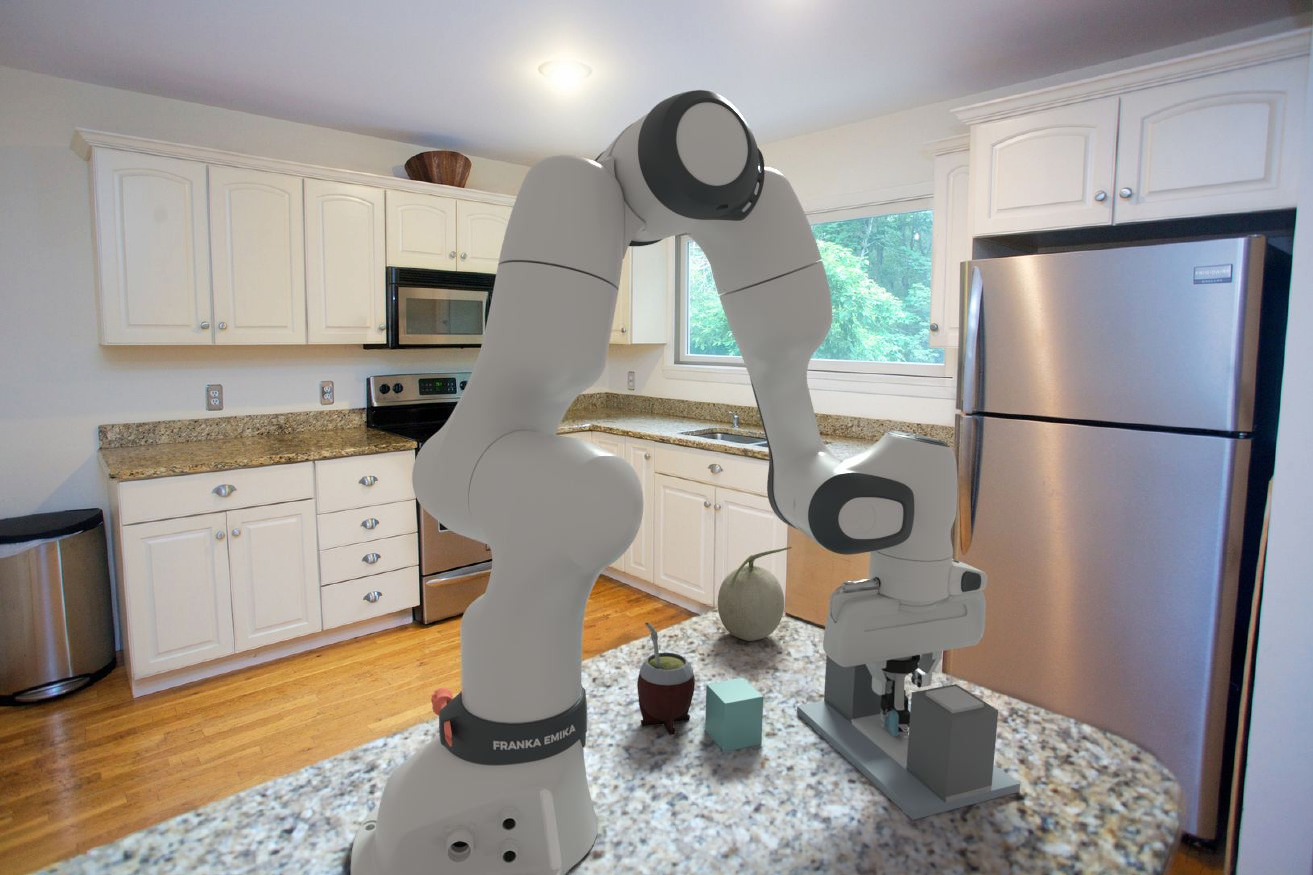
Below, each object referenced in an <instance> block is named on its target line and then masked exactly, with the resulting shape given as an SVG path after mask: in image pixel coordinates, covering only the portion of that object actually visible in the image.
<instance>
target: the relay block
mask: <svg viewBox="0 0 1313 875" xmlns="http://www.w3.org/2000/svg"><path fill="white" fill-rule="evenodd" d="M705 686H706V688H705V690H706V692H705V693H706V694H705V719H704V720H705V721H704V722H705V723H704V731H705V732H706V733H707V734H708V735H709V736H710V738H711V739H712V740H713V741H714V742H715V743H716V745H717V746H718V747H719V748H720V749H721V751H722V752H728V751H729V752H730V751H734V750H738V749H744V748H747V747H753V746H757V745H761V744H762V741H763V740H762V739H763V737H762V736H763V735H762V734H763V716H764V714H763V712H764V695H762V694H761V693H760V692H759V691H758V690H757V689H756V688H755V687H754V686H753V685H752V684H751V683H750V682H749V681H747V680H746V678H743V677H739V678H734V679H728V680H722V681H717V682H716V681H715V682H710V683H706V685H705Z"/></svg>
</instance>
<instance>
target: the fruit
mask: <svg viewBox="0 0 1313 875" xmlns="http://www.w3.org/2000/svg"><path fill="white" fill-rule="evenodd" d="M790 549H792V546H787V547H784V548H779V549H773V550H769V551H764V552H759V553H755V554H753V555H749V556H748V557H747V558H746V559H745V560H744V561H743V562H742V563H741V565H740V566H739V567H738V568H736V569H735V570H733V571H731V572H730V573H729V574H728V575H726V576H725V577H724V579H723V581H722V583H721V585H720V588H719V590H718V595H717V611H718V616H719V618H720V621H721V624H722V626H724V629H725V630H726V631H727V632H728V633H729V634H730V635H732V636H734V637H736V638H738V639H741V640H743V641H747V642H748V641H749V642H752V641H759V640H762V639H765V638H767V637H768V636H770V635H771V634H773V633H774V632H775V631H776V629H777V628H778V627H779V625H780V623H781V621H782V618H783V615H784V611H785V596H784V591H783V587H782V585H781V583H780V581H779V580H778V578H777V577H776V576H775V575H774V574H773V573H772V572H770V571H769V570H767V569H766V568H763V567H760V566H756V565H754V562H755V561H756V559H759V558H762V557H764V556H767V555H772V554H776V553H780V552H783V551H786V550H790ZM747 564H748V565H747Z"/></svg>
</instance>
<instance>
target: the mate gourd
mask: <svg viewBox="0 0 1313 875" xmlns="http://www.w3.org/2000/svg"><path fill="white" fill-rule="evenodd" d="M644 625H645V626H646V627H647V628H648V629H649V631H650V638H651V641H652V646H653V651H654V654H651V655H649V656H648V657H647V658H646V659H645V660H644V661H643V662H642V664H641V666H640V668H639V673H638V677H637V682H636V683H637V687H636V688H637V695H638V706H639V711H640V713H641V717H642V719H641V720H640V725H641V727H650V726H657V725H658V726H659V725H661V726H662V725H663V726H664V728H665V730H666V733H667V734H668V736H675V735H676V729H675V727H674V725H675V723H680V722H688V721H690V718H691V715H690V714H689V711H690V708H691V705H692V701H693V697H694V693H695V686H696V679H695V675H694V669H693V666H692V665H691V664H690V662H689V661H688V659H687V658H686V657H685V656H683V655H681V654H678V653H674V652H664V651H663V652H659V645H658V640H659V638H658V637H659V636H658V631H656V629H655V626H653V625H652V624H650V622H645V623H644Z"/></svg>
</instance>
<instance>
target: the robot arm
mask: <svg viewBox="0 0 1313 875" xmlns="http://www.w3.org/2000/svg"><path fill="white" fill-rule="evenodd" d="M508 219H509V220H508V221H507V222H508V223H507V225H506V228H505V232H504V236H503V241H502V244H501V250H500V253H499V258H498V264H497V269H496V274H495V280H494V285H493V289H492V290H493V291H492V296H491V300H490V306H489V310H488V311H489V312H488V315H487V321H486V326H485V331H484V334H483V339H482V343H481V347H480V351H479V353H478V355H477V356H478V357H477V359H476V362H475V364H474V367H473V370H472V372H471V374H470V376H469V379H468V381H467V383H466V385H465V387H464V390H463V391H462V393H461V395H460V397H459V400H458V401H457V404H456V405H455V407H454V409H453V410H452V413H451V414H450V416H449V417H448V419H447V421H446V422H445V423H444V424H443V426H442V427H441V428H440V429H439V430H438V431H437V432H435V433H434V434H433V435H432V436H431V437H429V439H427V440H426V442H425V443H423V445H422V446H421V448H420V449H419V451H418V453H417V455H416V456H415V460H414V464H413V467H412V474H411V475H412V478H411V481H412V482H411V483H412V489H413V491H414V492H413V493H414V496H415V497H416V499H417V502H418V503H419V505H420V506H421V508H423V509H424V511H426V512H427V513H428V514H429V515H430V516H431V517H432V518H434V519H435V521H437V522H438V523H440V524H441V525H442V526H443V527H445V528H446V529H447V530H449V531H451V532H452V533H455V534H456V535H459V536H461V537H465V538H468V539H471V540H474V541H477V542H479V543H482V544H485V545H488V546H489V548H490V549H489V550H490V552H491V557H492V560H491V561H492V562H491V571H490V575H489V580H488V583H487V586H486V589H485V593H483V594H481V595H480V596H478V597H477V598H476V599H475V600H473V601H472V602H471V603H470V604H469V605H468V607H466V609H465V611H464V612H463V615H462V617H461V620H460V626H459V630H460V673H461V674H460V676H461V677H460V678H461V680H460V681H461V682H460V683H461V690H460V691H459V692H458V694H457V695H456V696H454V695H453V691H451V690H450V689H449V688H448V687H440V688H437V689H436V690H434V693H432V695H431V699H430V700H431V705H432V712H433V713H434V714H436V715H437V716H438V733H439V734H438V735H436V736H435V737H434V738H433V739H431V740H430V741H429V742H428V743H426V744H425V745H424V746H423V747H421V748H420V749H419V750H417V752H415V753H414V754H412V755H411V756H410V757H408V759H406V760H405V761H403V762H402V763H400V764H399V765H398V766H397V767H396V768H394V770H393V771H392V772H391V773H390V776H389V777H388V779H387V782H386V784H385V786H384V789H383V792H382V795H381V798H380V802H379V806H378V807H376V808H374V809H373V810H372V811H370V812H369V814H368V815H367V816H366V817H365V818H364V820H363V821H362V822H361V824H360V826H359V827H358V829H357V832H356V833H355V837H354V839H353V844H352V850H351V857H350V858H351V859H350V868H349V870H350V871H349V872H350V874H349V875H566V874H567V873H568V872H569V870H571V869H572V868H573V867H574V866H575V865H577V864H578V863H579V862H580V861H581V860H582V859H583V858H584V857H585V856H586V855H587V854H588V853H589V851H590V850H591V849H592V847H593V845H594V843H595V841H596V838H597V834H598V832H599V831H598V830H599V820H598V817H597V813H596V811H595V807H594V804H593V801H592V797H591V793H590V789H589V782H588V777H587V770H586V763H585V762H586V761H585V752H584V751H585V750H584V748H585V746H586V744H587V742H586V741H587V733H588V700H587V693H586V689H585V687H583V684H582V677H583V676H582V670H583V669H582V668H583V664H582V663H583V638H584V637H583V636H584V635H583V634H584V621H585V615H586V610H587V605H588V602H589V598H590V596H591V593H592V590H593V587H594V586H595V584H596V582H597V580H598V578H599V576H600V575H601V574H602V572H604V570H605V569H607V568H608V567H610V566H611V565H612V564H613V563H615V562H617V561H618V560H619V559H620V558H621V557H622V556H623V555H624V554H625V553H626V552H627V550H629V548H630V547H631V545H632V544H633V543H634V541H635V539H636V538H637V535H638V532H639V530H640V527H641V524H642V520H643V517H644V516H643V514H644V508H645V507H644V492H643V488H642V482H641V480H640V477H639V476H638V474H637V472H636V470H635V468H634V467H633V466H632V465H631V463H629V462H628V461H627V459H624V458H623V457H621V456H619V455H618V454H615V453H613V452H611V451H609V450H607V449H605V448H604V447H601V446H599V445H597V444H594V443H592V442H591V441H588V440H586V439H582V438H577V437H570V436H564V435H559V434H557V433H558V430H559V427H560V425H561V423H562V422H563V419H564V416H565V415H566V414H567V411H568V410H569V408H570V407H571V406H572V404H573V403H574V401H575V400H576V399H577V398H578V397H579V396H580V395H581V394H582V393H584V392H585V391H586V390H588V389H589V388H591V387H592V386H594V384H595V383H597V381H598V380H599V379H600V377H601V376H602V374H603V372H604V370H605V367H606V363H607V360H608V359H607V358H608V354H609V346H610V343H611V342H610V340H611V336H612V331H613V330H612V329H613V325H614V324H613V323H614V320H615V319H614V318H615V312H616V307H617V301H618V295H619V289H620V285H621V284H620V283H621V277H622V269H623V261H624V258H625V256H626V254H627V250H628V249H629V247H645V246H651V245H654V244H658V243H659V242H661V241H662V240H665V239H667V238H671V237H674V236H680V235H682V234H687V236H688V237H689V238H690V239H692V240H693V241H694V242H695V243H696V245H698V246H699V248H700V250H701V251H702V253H703V254H704V256H705V257H706V260H708V263H709V266H710V269H711V273H712V276H713V281H714V285H715V287H716V291H717V294H718V297H719V300H720V301H719V302H720V303H721V307H722V309H723V312H724V315H725V317H726V321H727V322H728V323H727V324H728V326H729V329H730V330H731V333H732V335H733V338H734V341H735V343H736V345H737V347H738V350H739V352H740V354H741V357H742V360H743V363H744V365H745V368H746V370H747V372H748V375H749V380H750V383H751V387H752V391H753V395H754V399H755V403H756V407H757V410H758V414H759V418H760V421H761V425H762V428H763V433H764V437H765V441H766V444H767V449H768V457H769V458H768V459H769V460H768V472H767V481H766V483H767V484H766V490H767V491H766V492H767V499H768V502H769V505H770V507H771V510H772V511H773V512H774V514H775V515H776V517H777V518H779V520H780V521H782V522H783V523H785V524H786V525H788V526H790V527H792V528H794V529H796V530H798V532H801V534H803V535H804V536H806V537H807V538H809V539H810V540H811V541H813V542H814V543H816V544H818V545H819V546H820V547H822V548H823V549H825V550H827V551H830V552H832V553H835V554H838V555H844V556H845V555H846V556H847V555H849V556H850V555H857V554H863V553H869V566H868V567H869V568H868V578H864V579H860V580H855V581H853V580H849V581H844V582H841V585H840V586H838V587H837V588H835V590H834V591H833V592H832V593H831V594H830V596H829V602H828V603H829V605H828V606H829V607H828V613H827V617H826V620H825V627H824V633H823V634H824V635H823V642H822V643H823V644H822V649H823V651H824V653H825V655H828V657H829V658H831V659H832V660H833V661H834V662H836V663H837V664H839V665H840V666H842V667H851V666H857V665H863V664H866V666H867V668H868V670H869V672H870V674H871V675H872V689H873V691H874V692H875V693H877V694H878V695H885V694H890V693H891V692H892V689H891V687H892V681H893V680H891V679H890V678H888V677H886V676H885V675H884V673H883V671H882V668H886V662H887V660H892V659H897V658H903V657H909V656H915V655H920V661H919V662H918V669H917V670H915V671H914V672H913V673H911V677H910V680H911V683H912V684H913V685H914V686H916V687H918V688H925V687H930V686H931V685H932V679H933V673H934V671H935V670H936V668H937V667H938V665H939V663H940V662H941V660H942V658H943V657H942V656H943V652H944V651H949V650H954V649H960V648H966V647H972V646H977V645H978V644H979V642H980V640H982V639H983V636H984V634H985V628H986V616H987V614H986V612H987V600H986V595H985V594H984V592H983V591H984V590H985V589H986V587H987V584H988V575H987V573H986V572H985V571H983V570H980V569H978V568H976V567H974V566H971V565H969V564H967V563H964V562H962V561H961V560H960V561H959V560H957V559H954V557H953V556H954V547H953V543H952V539H951V538H952V536H951V535H952V533H951V532H952V528H953V524H954V522H955V520H956V517H957V506H958V489H959V488H958V486H959V485H958V482H959V481H958V467H957V459H956V455H955V453H954V450H953V448H952V447H951V446H950V445H949V444H948V443H946V442H945V441H943V440H940V439H937V438H933V437H930V436H926V435H925V436H924V435H922V434H917V433H912V432H907V431H902V430H901V431H900V430H899V431H898V430H891V431H888V432H885V433H884V434H883V436H882V437H881V438H880V439H879V440H878V441H877V442H875V443H874V444H872V445H871V446H869V447H868V448H866V449H863V450H862V451H860V452H858V453H856V454H854V455H851V456H849V457H846V458H843V459H840V458H838V457H837V456H836V455H835V454H834V453H832V451H830V449H828V447H827V446H826V445H825V443H824V442H823V439H822V437H821V434H820V430H819V426H818V421H817V418H816V414H815V410H814V406H813V401H812V397H811V393H810V390H809V385H808V368H809V364H810V361H811V359H812V357H813V355H814V353H815V352H816V351H817V350H818V349H819V348H820V346H822V344H823V342H824V341H825V340H826V337H827V336H828V334H829V332H830V329H831V326H832V324H833V317H834V316H833V306H832V305H833V304H832V294H831V290H830V289H831V288H830V284H829V280H828V277H827V276H828V275H827V273H826V269H825V266H824V262H823V260H822V255H821V253H820V249H819V247H818V243H817V241H816V238H815V235H814V231H813V230H812V227H811V224H810V222H809V219H808V217H807V214H806V212H805V211H804V208H803V206H802V205H801V202H800V199H799V198H798V196H797V194H796V192H795V190H794V188H793V186H792V185H791V183H790V181H789V179H788V178H787V177H786V176H785V175H784V174H783V173H782V172H780V171H779V170H777V169H776V168H775V169H774V168H772V167H767V166H765V160H764V156H763V153H762V151H761V150H760V148H759V147H758V144H757V141H756V139H755V136H754V134H753V131H752V130H751V128H750V125H749V124H748V122H747V121H746V120H745V118H744V116H743V115H742V113H741V112H740V111H739V110H738V109H737V108H736V107H735V106H734V105H733V104H732V103H731V102H730V101H729V100H727V99H726V98H725V97H723V96H722V95H720V94H718V93H716V92H714V91H710V90H705V89H697V90H695V89H694V90H688V91H683V92H680V93H678V94H674V95H671V96H670V97H668V98H664V99H663V100H662V101H660V102H658V103H657V104H656V105H655V106H654V107H653V108H652V109H651V110H650V111H649V112H648V113H646V114H645V115H643V116H642V117H640V118H639V119H638V120H636V121H635V122H632V123H631V124H630V125H628V126H627V127H625V128H624V129H623V130H622V131H621V132H620V134H618V136H616V138H614V140H613V141H612V142H611V144H609V145H608V147H606V149H605V150H604V151H602V152H601V153H600V154H599V155H598V156H597V157H596V158H595V160H592V159H590V158H587V157H583V156H580V155H576V154H575V155H574V154H573V155H572V154H557V155H551V156H548V157H546V158H545V157H544V158H542V159H541V160H539V161H537V162H536V163H534V165H532V166H531V168H530V169H529V170H528V172H527V173H525V177H524V179H523V181H522V183H521V185H520V188H519V190H518V193H517V195H516V198H515V201H514V204H513V206H512V210H511V213H510V216H509V218H508ZM921 655H922V656H921Z"/></svg>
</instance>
